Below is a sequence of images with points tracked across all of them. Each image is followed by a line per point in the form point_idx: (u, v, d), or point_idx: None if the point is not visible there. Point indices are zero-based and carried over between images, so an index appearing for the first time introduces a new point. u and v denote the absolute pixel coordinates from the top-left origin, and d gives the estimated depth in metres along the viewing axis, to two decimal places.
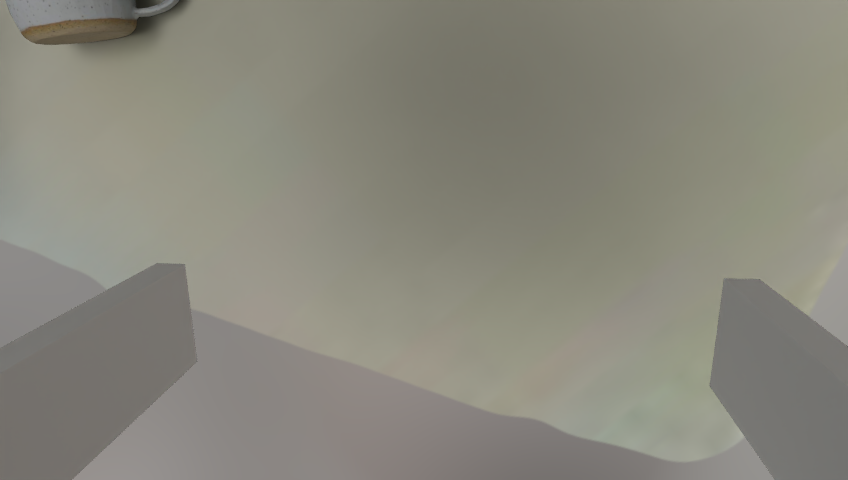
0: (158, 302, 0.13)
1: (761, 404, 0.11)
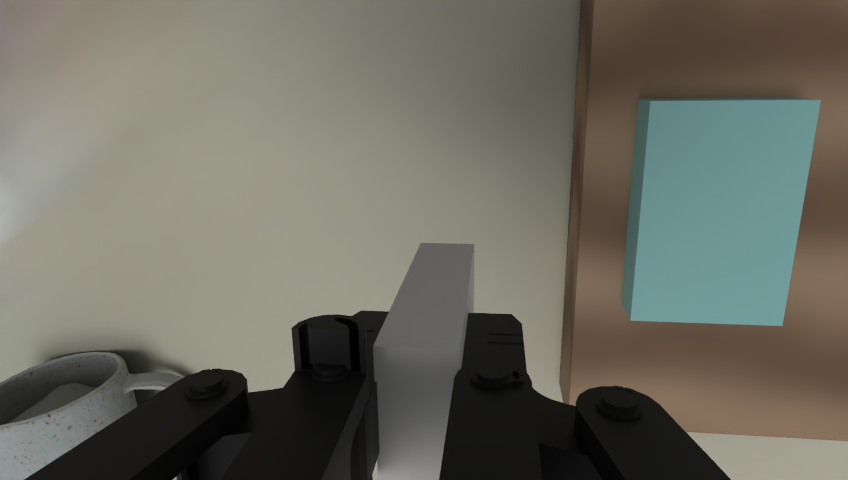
0: None
1: None
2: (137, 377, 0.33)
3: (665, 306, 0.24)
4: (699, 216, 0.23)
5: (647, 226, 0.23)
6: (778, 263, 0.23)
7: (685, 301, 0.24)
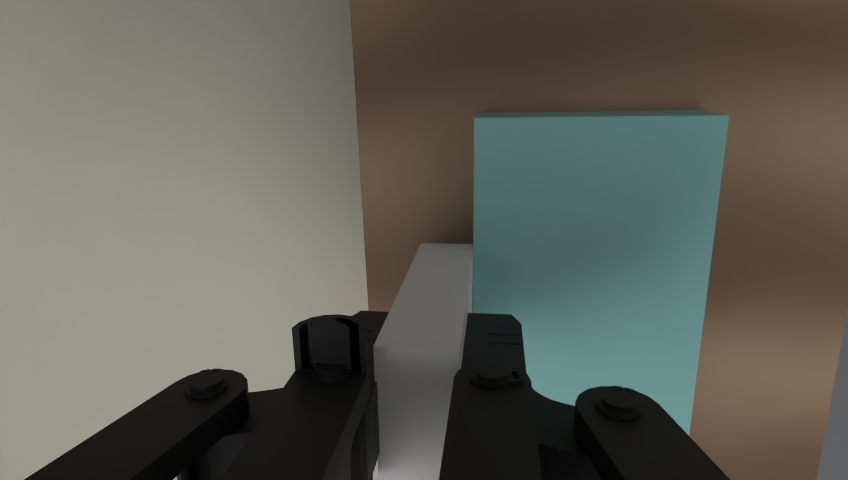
0: None
1: None
2: None
3: None
4: (558, 289, 0.15)
5: (485, 301, 0.16)
6: (677, 357, 0.15)
7: None
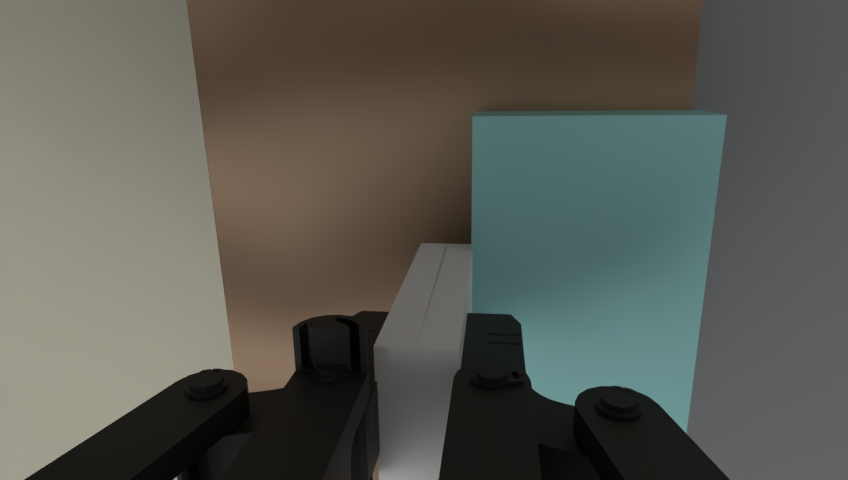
0: None
1: None
2: None
3: None
4: (556, 287, 0.15)
5: (483, 300, 0.16)
6: (674, 356, 0.15)
7: None
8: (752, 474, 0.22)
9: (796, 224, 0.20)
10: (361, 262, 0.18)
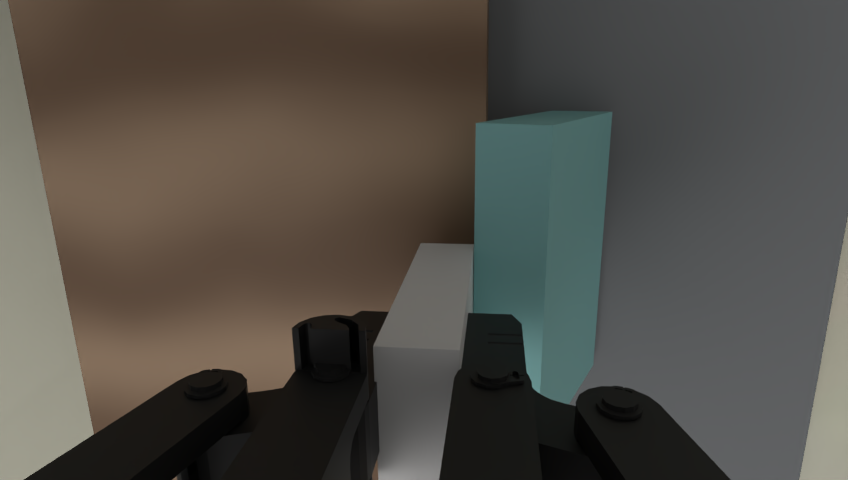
0: None
1: None
2: None
3: None
4: (570, 277, 0.17)
5: (547, 314, 0.15)
6: (594, 301, 0.20)
7: (561, 390, 0.17)
8: None
9: (627, 231, 0.20)
10: (191, 264, 0.19)
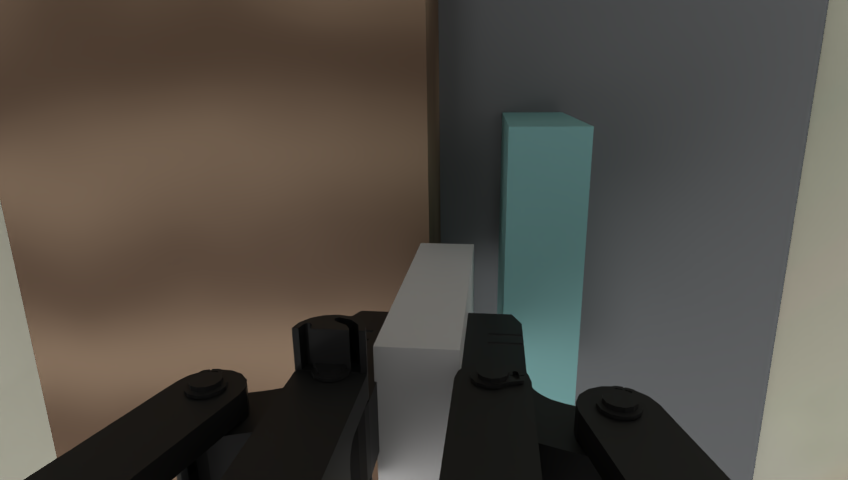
0: None
1: None
2: None
3: None
4: None
5: None
6: None
7: None
8: None
9: None
10: (143, 264, 0.19)
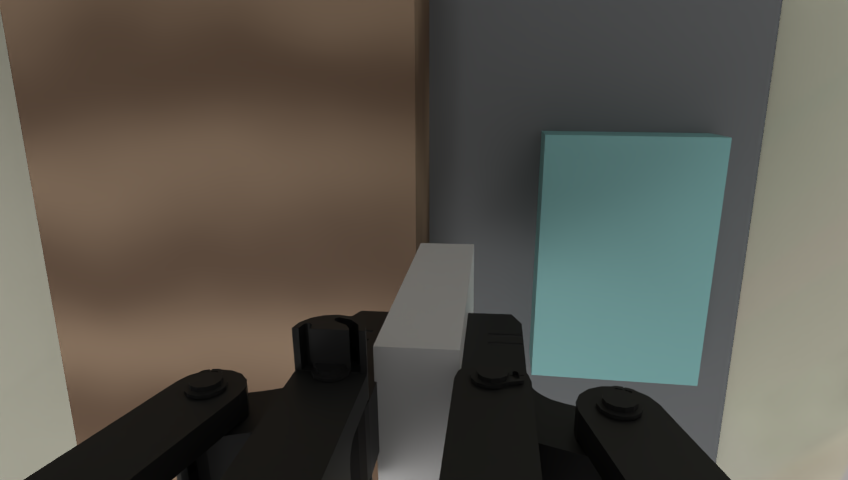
0: None
1: None
2: None
3: None
4: None
5: None
6: None
7: None
8: None
9: None
10: (160, 260, 0.21)
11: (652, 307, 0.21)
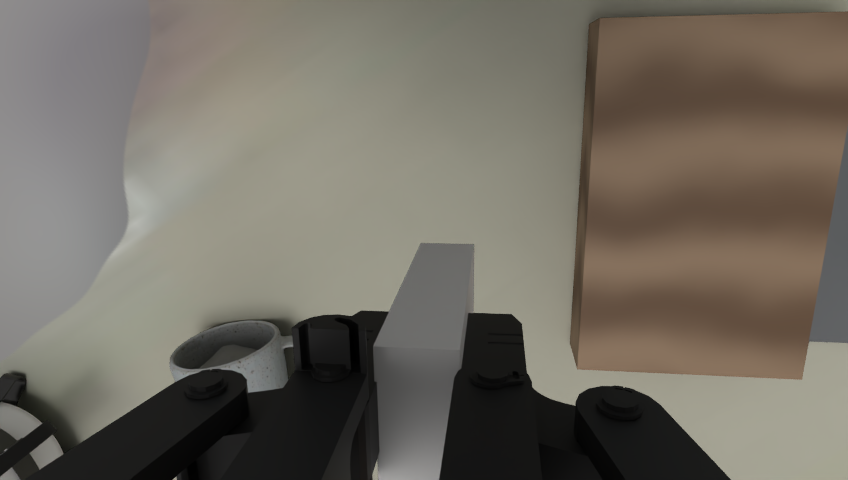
0: None
1: None
2: (288, 338, 0.43)
3: None
4: None
5: None
6: None
7: None
8: None
9: None
10: (666, 208, 0.35)
11: None
